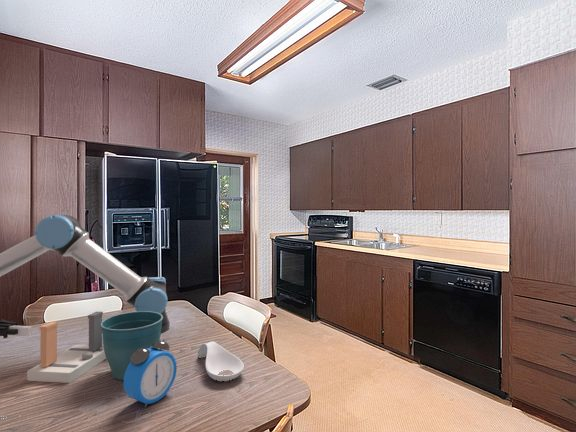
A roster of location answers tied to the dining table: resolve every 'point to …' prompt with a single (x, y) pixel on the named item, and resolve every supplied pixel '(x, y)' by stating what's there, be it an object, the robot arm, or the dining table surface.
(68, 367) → the console
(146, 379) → the alarm clock
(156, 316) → the flower pot
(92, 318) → the gray capped upright block
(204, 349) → the spoon rest
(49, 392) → the dining table surface
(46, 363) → the terracotta paddle
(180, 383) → the dining table surface
